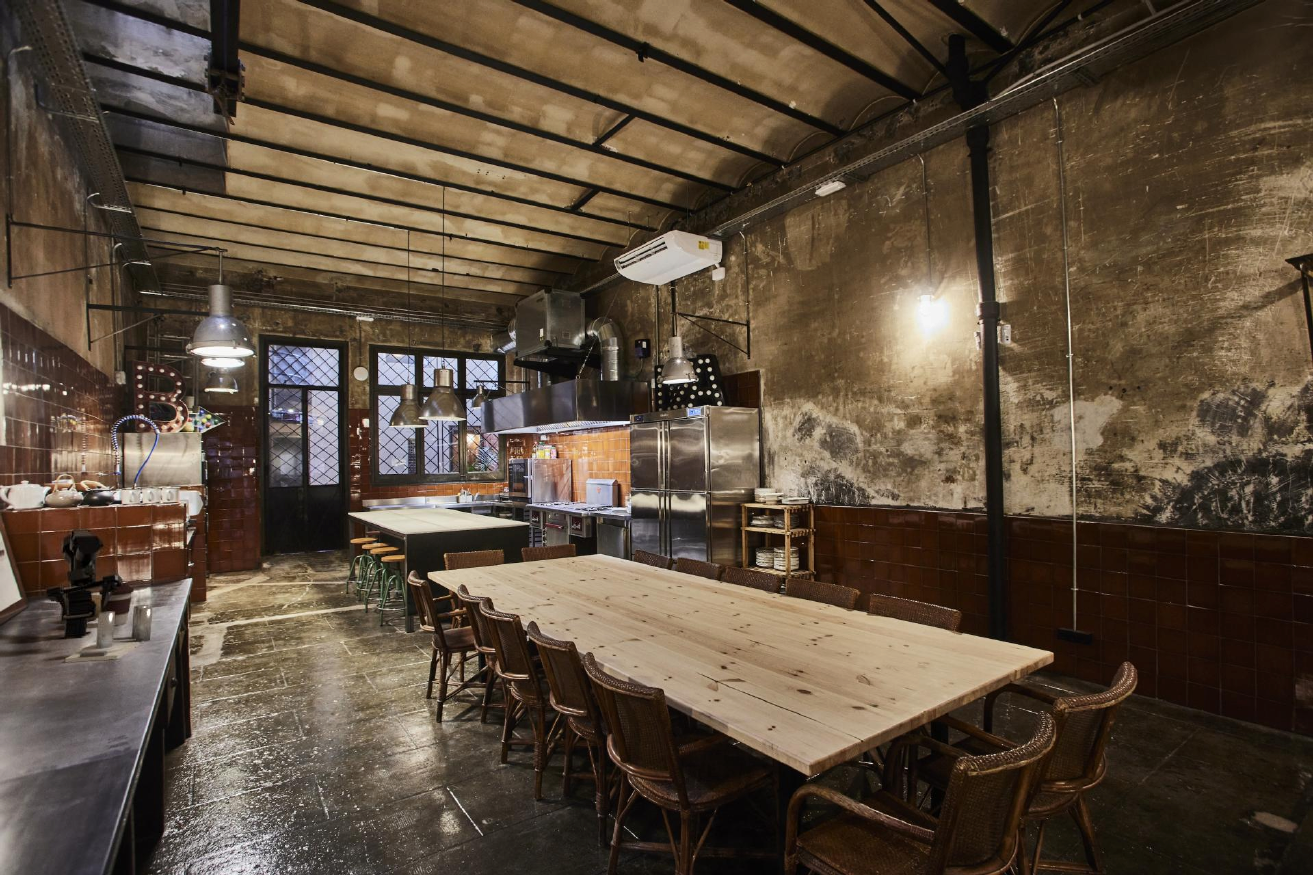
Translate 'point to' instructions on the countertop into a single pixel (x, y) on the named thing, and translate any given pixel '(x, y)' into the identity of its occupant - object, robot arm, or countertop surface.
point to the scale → (102, 652)
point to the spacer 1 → (105, 630)
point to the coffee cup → (119, 603)
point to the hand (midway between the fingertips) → (85, 610)
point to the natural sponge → (98, 608)
